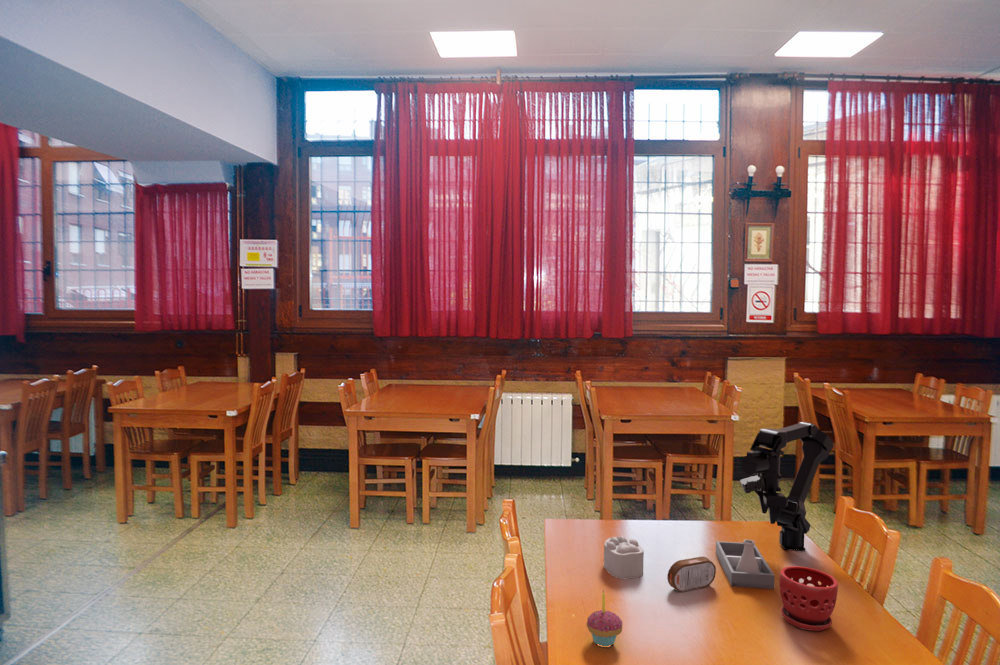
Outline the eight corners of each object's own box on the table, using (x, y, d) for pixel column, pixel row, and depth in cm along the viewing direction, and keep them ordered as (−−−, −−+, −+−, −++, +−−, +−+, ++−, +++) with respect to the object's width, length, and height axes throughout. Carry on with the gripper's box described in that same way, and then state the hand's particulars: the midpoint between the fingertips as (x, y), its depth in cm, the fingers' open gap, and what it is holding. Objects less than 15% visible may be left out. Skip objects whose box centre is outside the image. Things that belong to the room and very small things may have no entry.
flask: (756, 569, 185) (757, 536, 185) (765, 581, 178) (766, 547, 178) (731, 568, 186) (732, 536, 185) (739, 580, 179) (740, 546, 178)
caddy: (753, 555, 198) (754, 543, 197) (774, 589, 176) (774, 575, 175) (715, 553, 199) (715, 541, 199) (731, 586, 177) (731, 572, 177)
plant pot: (834, 641, 150) (836, 592, 149) (774, 625, 157) (776, 579, 156) (838, 617, 161) (839, 572, 160) (782, 603, 168) (784, 560, 167)
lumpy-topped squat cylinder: (615, 580, 181) (615, 551, 180) (597, 561, 194) (597, 534, 193) (647, 576, 184) (648, 547, 183) (627, 557, 196) (628, 530, 196)
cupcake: (583, 633, 153) (583, 585, 152) (617, 631, 154) (617, 584, 153) (591, 653, 144) (591, 603, 144) (627, 651, 145) (627, 602, 144)
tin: (710, 581, 180) (710, 553, 180) (717, 586, 177) (718, 557, 177) (666, 590, 175) (666, 561, 174) (673, 595, 172) (673, 565, 171)
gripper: (736, 460, 206) (734, 506, 207) (750, 477, 188) (748, 528, 189) (771, 462, 205) (770, 508, 206) (789, 479, 186) (787, 530, 187)
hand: (768, 518), depth 197 cm, fingers open, 9 cm apart
